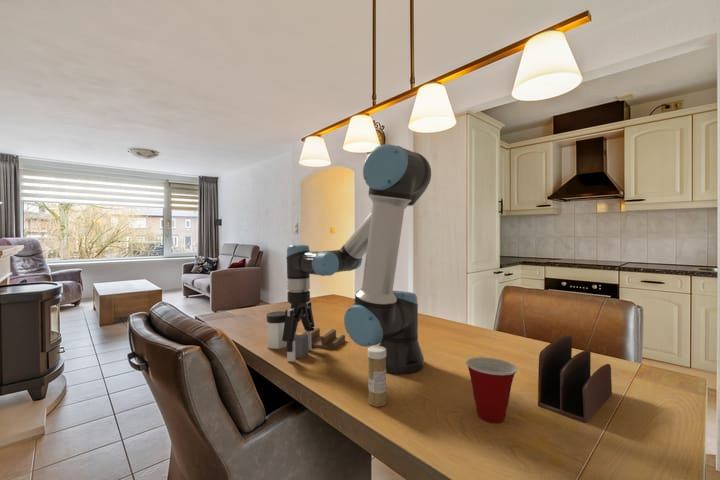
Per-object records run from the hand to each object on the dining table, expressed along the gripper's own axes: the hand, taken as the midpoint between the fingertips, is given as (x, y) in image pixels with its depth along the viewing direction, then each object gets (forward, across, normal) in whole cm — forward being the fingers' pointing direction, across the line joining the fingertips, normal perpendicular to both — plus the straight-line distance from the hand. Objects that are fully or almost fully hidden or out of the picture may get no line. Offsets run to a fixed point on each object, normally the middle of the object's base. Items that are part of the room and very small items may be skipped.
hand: (299, 354), depth 115 cm
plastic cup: (0, +21, +60) cm, 64 cm away
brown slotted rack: (0, -14, +1) cm, 14 cm away
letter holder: (0, +8, +80) cm, 80 cm away
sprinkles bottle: (0, +23, +34) cm, 41 cm away
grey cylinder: (0, 0, 0) cm, 0 cm away
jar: (0, -7, -13) cm, 15 cm away
